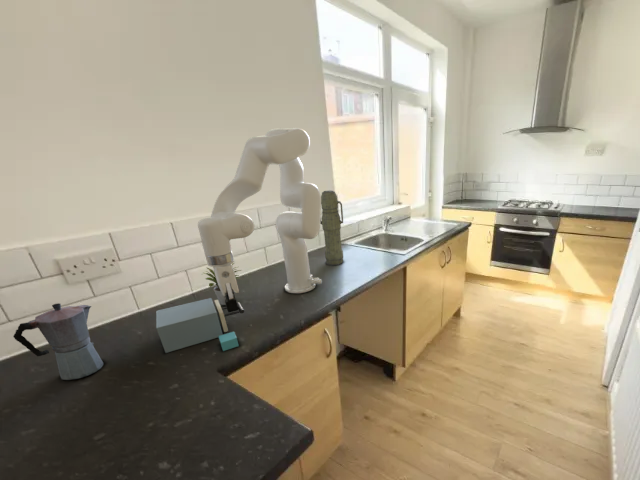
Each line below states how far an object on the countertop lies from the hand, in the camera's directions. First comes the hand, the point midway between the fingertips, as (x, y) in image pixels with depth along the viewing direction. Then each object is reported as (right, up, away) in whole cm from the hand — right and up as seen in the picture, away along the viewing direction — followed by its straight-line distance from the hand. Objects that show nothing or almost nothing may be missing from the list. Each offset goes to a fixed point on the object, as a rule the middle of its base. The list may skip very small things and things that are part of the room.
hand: (232, 310), depth 106 cm
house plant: (-10, +1, +16) cm, 19 cm away
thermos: (+25, +20, +56) cm, 65 cm away
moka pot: (-32, -15, -20) cm, 40 cm away
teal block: (+4, -10, -10) cm, 15 cm away
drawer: (-6, -5, -2) cm, 8 cm away
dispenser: (-11, -8, -4) cm, 14 cm away
